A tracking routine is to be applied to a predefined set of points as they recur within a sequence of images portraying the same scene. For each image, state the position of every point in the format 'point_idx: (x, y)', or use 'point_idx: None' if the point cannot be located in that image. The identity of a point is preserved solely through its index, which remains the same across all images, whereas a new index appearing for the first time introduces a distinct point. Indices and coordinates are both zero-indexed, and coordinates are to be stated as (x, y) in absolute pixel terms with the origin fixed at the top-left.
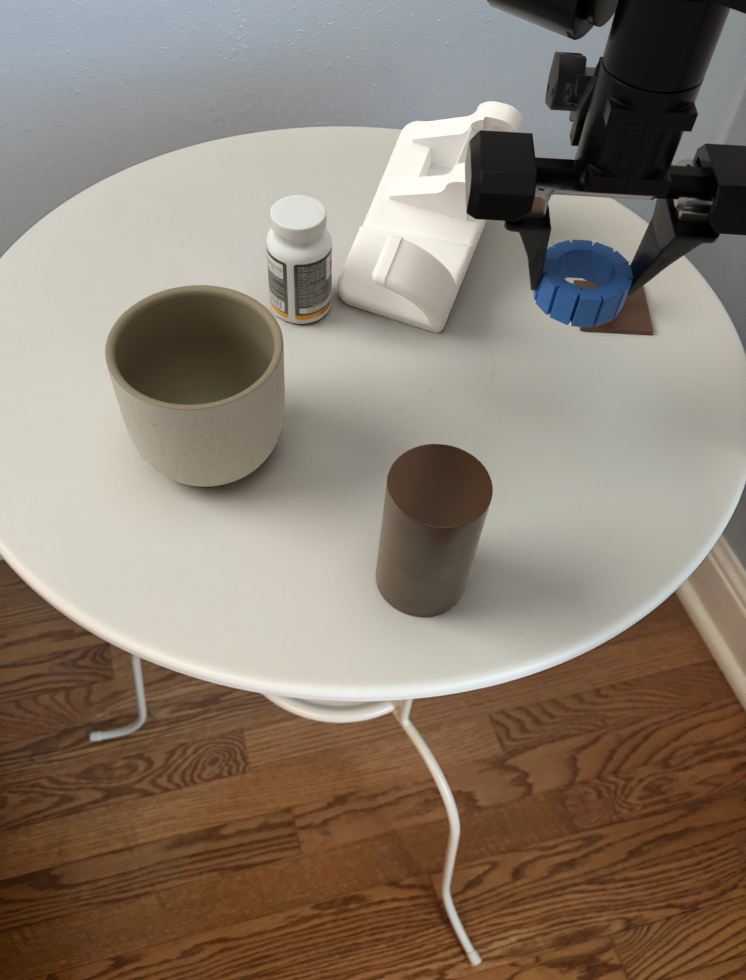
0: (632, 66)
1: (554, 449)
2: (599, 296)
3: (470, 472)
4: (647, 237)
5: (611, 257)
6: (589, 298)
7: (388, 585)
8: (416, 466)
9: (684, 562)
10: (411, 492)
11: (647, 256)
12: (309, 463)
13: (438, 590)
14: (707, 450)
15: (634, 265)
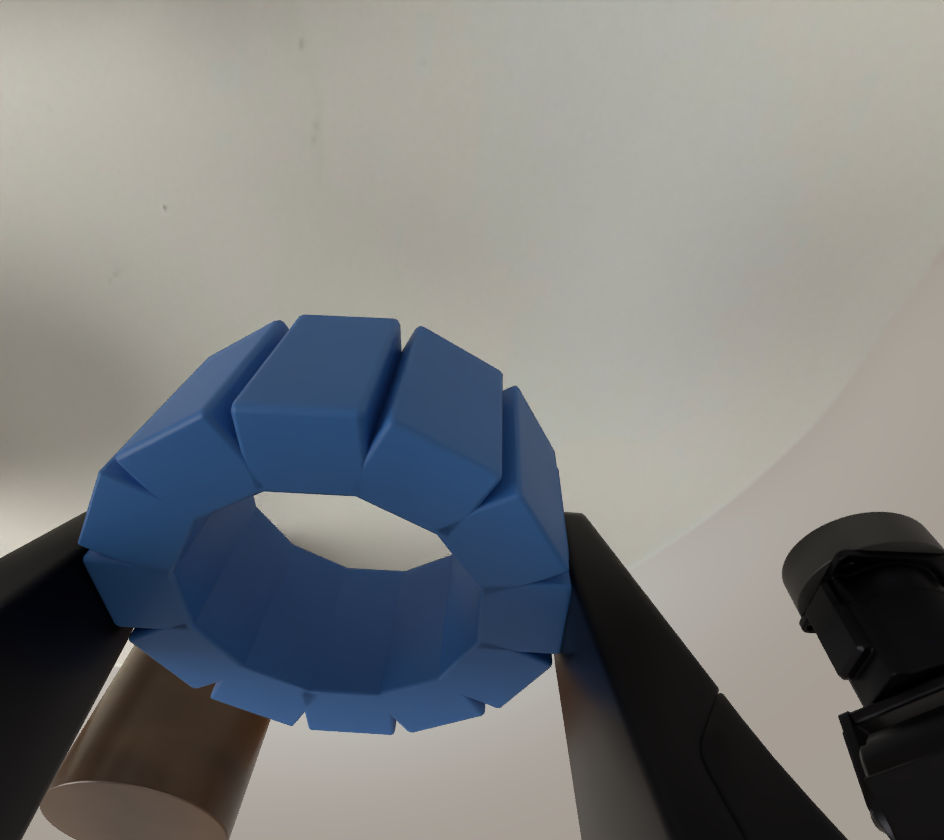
0: None
1: None
2: (385, 725)
3: (180, 815)
4: (634, 815)
5: (472, 547)
6: (345, 728)
7: None
8: (82, 808)
9: (641, 558)
10: (95, 831)
11: (595, 834)
12: (3, 411)
13: None
14: (797, 358)
15: (575, 643)
